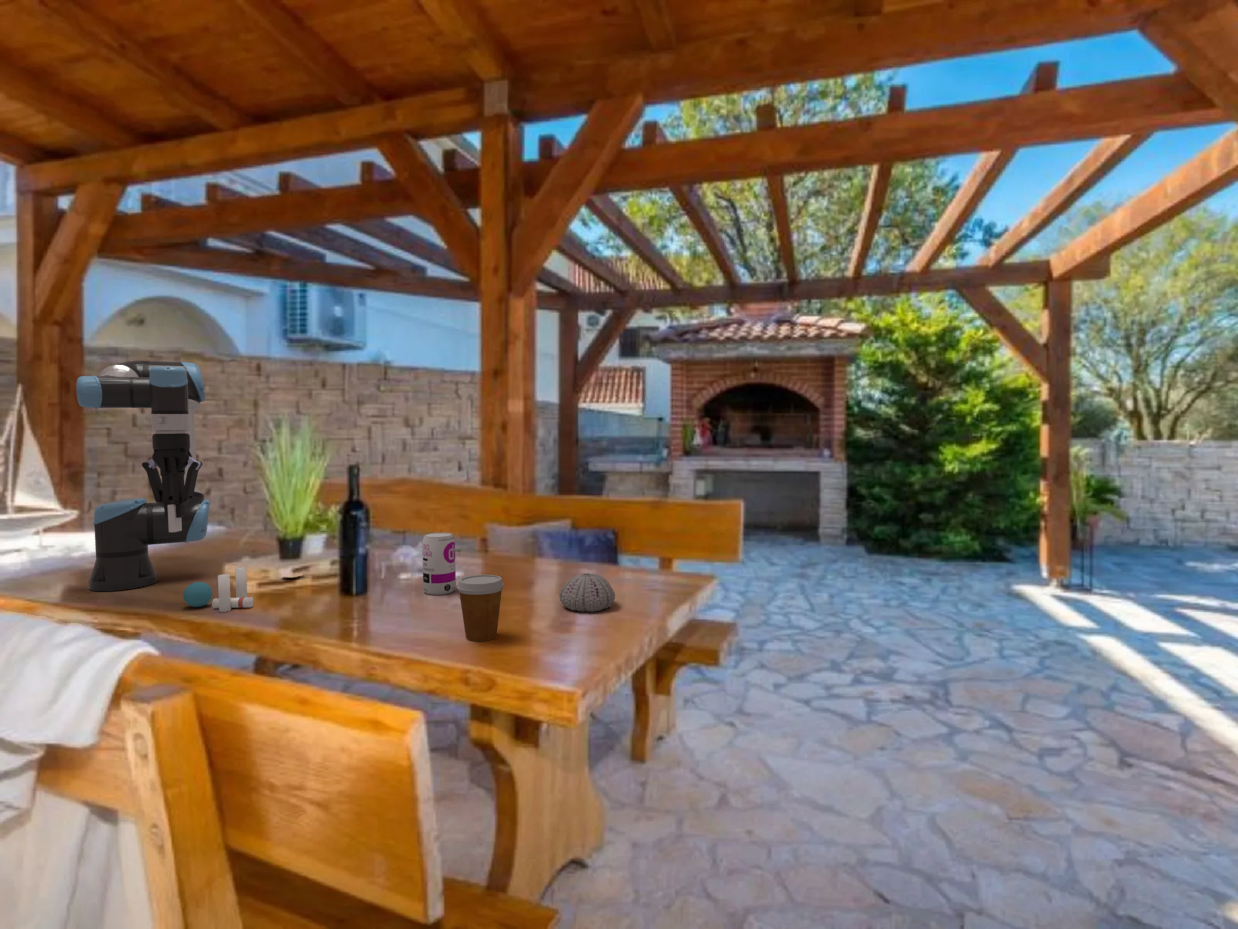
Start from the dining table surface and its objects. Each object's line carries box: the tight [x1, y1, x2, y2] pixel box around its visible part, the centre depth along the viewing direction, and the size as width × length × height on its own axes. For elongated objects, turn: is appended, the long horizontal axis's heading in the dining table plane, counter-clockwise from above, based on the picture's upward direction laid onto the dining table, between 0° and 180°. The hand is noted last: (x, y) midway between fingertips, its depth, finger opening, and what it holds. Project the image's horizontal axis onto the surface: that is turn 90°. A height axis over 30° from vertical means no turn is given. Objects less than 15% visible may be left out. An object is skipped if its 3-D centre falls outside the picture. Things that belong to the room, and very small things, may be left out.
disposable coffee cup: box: [456, 574, 505, 642], centre depth 142 cm, size 10×10×12 cm
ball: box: [182, 581, 213, 608], centre depth 167 cm, size 6×6×6 cm
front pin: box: [211, 596, 255, 609], centre depth 166 cm, size 2×2×8 cm
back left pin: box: [234, 566, 248, 598], centre depth 171 cm, size 2×2×8 cm
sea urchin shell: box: [558, 572, 616, 613], centre depth 166 cm, size 13×14×8 cm
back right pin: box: [217, 573, 232, 613], centre depth 163 cm, size 2×2×8 cm
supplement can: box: [421, 532, 457, 596], centre depth 180 cm, size 8×8×15 cm
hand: (175, 531), depth 166 cm, fingers closed
